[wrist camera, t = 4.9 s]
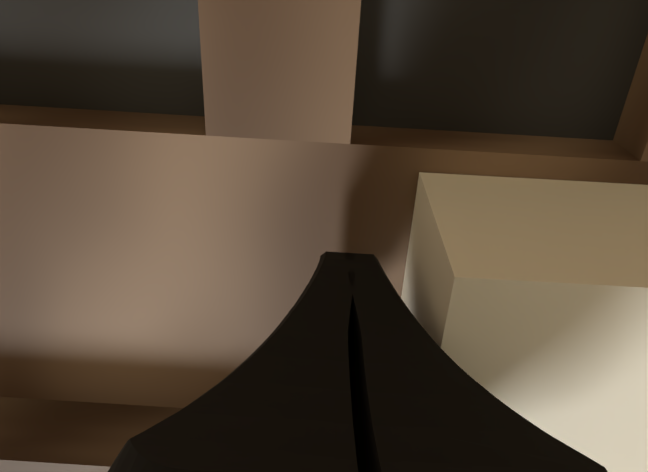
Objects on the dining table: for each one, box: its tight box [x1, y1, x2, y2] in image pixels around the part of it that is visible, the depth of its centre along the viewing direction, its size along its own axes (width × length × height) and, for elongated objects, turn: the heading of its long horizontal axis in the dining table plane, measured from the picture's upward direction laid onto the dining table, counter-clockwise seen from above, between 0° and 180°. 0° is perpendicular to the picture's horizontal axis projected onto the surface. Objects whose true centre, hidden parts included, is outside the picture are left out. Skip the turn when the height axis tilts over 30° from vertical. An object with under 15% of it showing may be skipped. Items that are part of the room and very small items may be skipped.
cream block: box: [401, 172, 648, 472], centre depth 11 cm, size 5×5×4 cm
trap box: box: [0, 0, 648, 472], centre depth 12 cm, size 24×13×4 cm, turn 87°
